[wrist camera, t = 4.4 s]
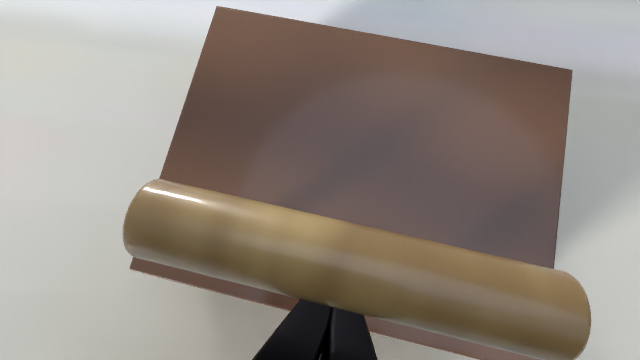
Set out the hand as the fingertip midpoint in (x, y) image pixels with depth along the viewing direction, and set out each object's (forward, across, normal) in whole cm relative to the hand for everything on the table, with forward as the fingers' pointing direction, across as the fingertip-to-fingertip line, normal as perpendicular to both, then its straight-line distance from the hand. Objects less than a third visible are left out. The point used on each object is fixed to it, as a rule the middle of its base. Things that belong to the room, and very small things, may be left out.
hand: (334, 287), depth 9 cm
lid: (+5, 0, 0) cm, 5 cm away
